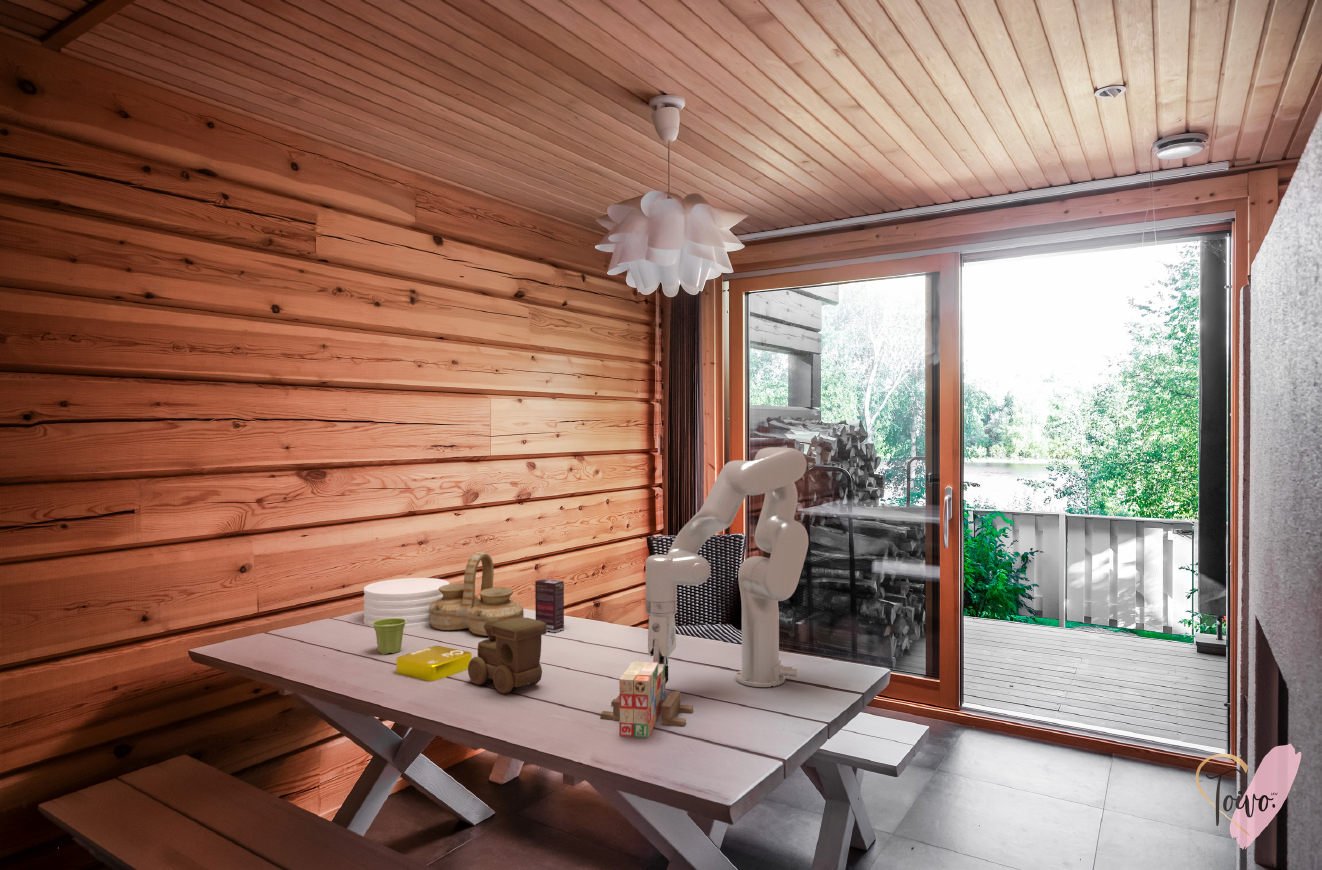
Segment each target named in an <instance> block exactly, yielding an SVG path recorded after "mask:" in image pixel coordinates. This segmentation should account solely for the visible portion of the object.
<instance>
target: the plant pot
mask: <svg viewBox="0 0 1322 870" xmlns="http://www.w3.org/2000/svg"><path fill="white" fill-rule="evenodd" d="M405 623H406V620H405V619H401V618H389V619H382V620H378V621H375V622H373V623H372V625H373V626H374V627H373V628H374V631H375V636H376V643H377V644H376V645H377V651H378V653H379V654H383V655H388V654H390V653H391V654H396V653H398V652H401V651H402V644H403V635H404V629H405V628H404V627H405Z"/></svg>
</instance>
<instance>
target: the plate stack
mask: <svg viewBox="0 0 1322 870" xmlns="http://www.w3.org/2000/svg"><path fill="white" fill-rule="evenodd" d="M448 584H450V582H449V581H448V580H446V579H441V578H436V577H435V578H432V577H406V578H396V579H395V578H394V579H387V580H380V581H376V582H372V583H369V584H367V585H365V586H364V587H363V594H364V595H363V601H364V602H363V609H364V610H363V616H364V617H363V624H365V625H366V626H368V627H373V628H374V626H373V625H372V623H373V622H375V621H378V620H382V619H389V618H401V619H405V620H406V623H405V627H404V629H407V628H408V629H410V628H419V627H425V626H426V627H427V626H430V625H429V624H431V623H430V609H429V607H430V605H431V604H433V603H434V602H435V601H437V600H438V599H441V598H442V597H443V594H442V593H441V592H440V591H439V588H440V587H441V586H443V585H448Z"/></svg>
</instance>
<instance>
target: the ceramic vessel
mask: <svg viewBox="0 0 1322 870" xmlns="http://www.w3.org/2000/svg"><path fill="white" fill-rule="evenodd" d="M480 562H481V566H482V567H481V568H482V569H481V570H482V573H481V574H482V576H481V585H480V591H479V596H480V597H478V596H477V595H476V578H477V577H476V575H477V570H478V567H479V564H480ZM493 562H494V561H493V559H492V557H491V555H490V554H488V553H487V552H484V551H475V552H474V553H473V554H472V555H471V556H470V557H469V559H468V560H467V564H466V565H465V566H466V567H465V571H464V577H463V582H460V583H449V584H448V585H443V586H441V587H440V588H439V591H440V592H441V593H442V594H443V597H442V598H441V599H438V600H437V601H435V602H434V603H433V604H431V605H430V607H429V609H430V623H431V627H432V628H435V629H437V630H442V631H457V630H466V629H469V631H470V632H471V633H472V634H475V635H480V636H484V637H485V636H486V637H488V635H487V633H486V631H485V629H484V625H485V623H486V621H487V620H488V618H497V619H498V620H499V621H503V620H508V619H512V618H520V617H524V618H525V616H524V606H522V605H521V604H520V602H516V601H514V600H513V599H510V598H511V596H512V595H513V594H514V589H512V588H511V587H510V588H509V587H501V586H500V587H494V575H495V574H494V573H495V571H494V569H495V568H494V563H493Z"/></svg>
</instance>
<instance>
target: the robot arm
mask: <svg viewBox="0 0 1322 870" xmlns="http://www.w3.org/2000/svg"><path fill="white" fill-rule="evenodd" d="M807 464H808V463H807V459H806V457H805V455H804V454H803V452H801V451H800V450H798V449H796V448H793V447H778V446H777V447H775V446H774V447H773V446H770V447H769V446H768V447H764V448H761V449H760V450H758V451H757V453H755V456H754V460H742V459H741V460H740V459H739V460H738V459H736V460H735V459H734V460H730V461H728V462H727V463H725V464H724V466H723V467H722V468H721V470H720V473H718V475H717V478H716V480H715V481H714V483H713V485H712V487H711V489H710V491H709V493H708V494H707V497H706V499H705V501H704V503H703V504H702V506H701V508H700V509H699V510H698V512H696V513H695V514H694V515H693V516H692V518H690V520H689V521H688V522H687V523H685V525H683V527H682V528H681V529H680V531H679V532H678V533H677V535H676V537H675V538H674V540H673V542H672V544H671V546H670V547H669V549H668V552H667V553H666V554H653V555H652V554H651V555H650V556H648V557H647V558H646V560H645V614H646V615H649V616H648V633H647V636H648V637H647V654H648V655H649V657H652V658H653V659H652V663H658V664H665V682H666V684H667V683H668V681H669V657H670V656H671V655H672V653H673V652H674V651H675V650H676V647H677V633H676V632H677V630H676V629H677V628H676V618H675V616H676V614H677V609H678V608H677V604H678V603H677V602H678V601H677V599H678V597H677V596H678V595H677V594H678V591H677V590H678V589H677V588H678V587H677V586H679V585H680V586H691V587H692V586H693V587H694V586H699V585H703V583H706V581H707V580H708V579H710V578H709V577H710V575H711V573H712V572H711V565H710V562H709V561H708V560H707V559H706V558H705V557H703V556H702V555H700V554H698V553H699V551H700V549H701V548H702V547H703V545H704V544H705V543H706V542H707V541H708V540H709V539H710V538H712V537H713V536H714V535H716V534H719V533H721V532H723V531H724V530H726V529H728V528H729V527H730V526H731V525H732V524H733V523H734V520H735V518H736V516H737V514H738V511H739V510H740V509H741V506H742V503H744V501H745V498H746V497H747V496H760V495H763V494H764V500H763V505H762V508H761V511H760V514H759V518H758V522H757V525H756V528H755V532H754V539H753V540H754V543H755V545H756V547H757V548H758V549H760V550H761V551H763V552H764V553H765V552H766V553H768V554H770V557H765V556H761V555H760V556H759V555H753V556H749V557H748V558H746V559H745V560H744V561H743V562H742V563H741V565H740V566H739V569H738V573H737V574H738V575H737V576H738V577H737V578H738V587H739V592H740V601H741V670H738V671H737V672H736V674H735V680H736V681H737V682H738V683H740V684H741V685H745V686H749V687H754V688H770V687H771V686H773V687H778V686H781V685H782V683H783V684H784V683H785V682H786V676H787V677H793V678H794V677H795V678H796V677H797V668H793V666H784V665H783V664H782V660H780V652H779V651H780V610H779V602H783V601H786V600H787V599H789V598H791V597H792V596H793V594H794V593H795V591H796V589H797V587H798V584H799V580H800V578H801V574H802V571H803V567H804V563H805V560H806V557H807V554H808V553H807V552H808V548H809V534H808V532H807V529H806V528H805V526H804V525H803V524H802V523H801V522H799V521H798V520H796V519H794V518H795V515H796V512H797V511H796V510H797V505H798V499H799V498H798V497H799V496H798V495H799V494H798V489H797V486H796V484H795V483H796V482H797V481H799V480H800V479H801V478H803V476H804V475H805V473H806V471H807ZM784 681H785V682H784ZM780 684H781V685H780ZM777 685H778V686H777ZM771 688H772V687H771Z"/></svg>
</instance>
